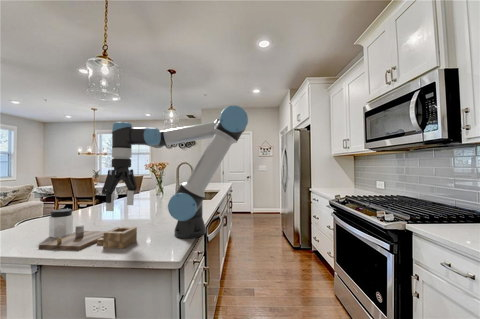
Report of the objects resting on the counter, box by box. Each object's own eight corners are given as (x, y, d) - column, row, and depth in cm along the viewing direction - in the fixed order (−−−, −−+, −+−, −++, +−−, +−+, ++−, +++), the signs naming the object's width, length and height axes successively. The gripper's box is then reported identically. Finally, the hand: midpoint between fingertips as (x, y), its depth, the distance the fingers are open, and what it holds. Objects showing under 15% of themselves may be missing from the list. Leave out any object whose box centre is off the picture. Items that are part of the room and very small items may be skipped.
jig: (113, 234, 108) (113, 221, 108) (79, 250, 88) (79, 233, 89) (79, 233, 110) (79, 220, 110) (38, 248, 90) (39, 232, 90)
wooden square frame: (136, 240, 99) (136, 227, 99) (124, 248, 90) (124, 233, 90) (106, 239, 101) (106, 226, 101) (90, 247, 92) (91, 232, 92)
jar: (47, 239, 102) (48, 212, 102) (50, 234, 109) (50, 209, 109) (71, 235, 107) (72, 210, 107) (73, 231, 114) (73, 208, 114)
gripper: (130, 159, 109) (129, 202, 108) (91, 157, 84) (90, 213, 83) (145, 159, 108) (144, 203, 107) (109, 157, 83) (108, 214, 83)
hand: (120, 207), depth 95 cm, fingers open, 13 cm apart
